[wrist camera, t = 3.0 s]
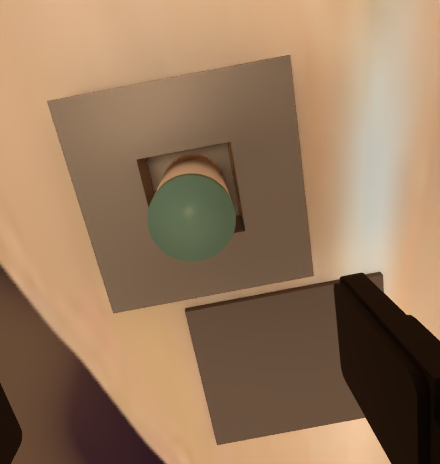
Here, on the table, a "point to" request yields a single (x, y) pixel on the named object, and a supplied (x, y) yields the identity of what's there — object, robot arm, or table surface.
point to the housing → (179, 139)
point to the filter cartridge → (191, 210)
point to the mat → (272, 362)
